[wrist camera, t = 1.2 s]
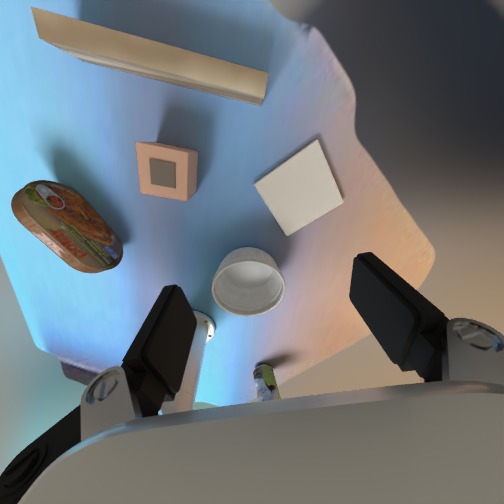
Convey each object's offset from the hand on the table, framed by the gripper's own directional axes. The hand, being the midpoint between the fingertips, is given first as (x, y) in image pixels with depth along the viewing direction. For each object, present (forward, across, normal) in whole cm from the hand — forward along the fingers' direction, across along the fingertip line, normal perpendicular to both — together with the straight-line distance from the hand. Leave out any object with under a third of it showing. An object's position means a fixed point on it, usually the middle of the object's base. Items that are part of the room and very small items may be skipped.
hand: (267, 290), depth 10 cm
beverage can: (+24, +6, +53) cm, 59 cm away
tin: (+24, +28, 0) cm, 37 cm away
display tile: (+24, -8, +2) cm, 25 cm away
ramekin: (+24, +4, +15) cm, 29 cm away
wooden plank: (+24, +7, -16) cm, 30 cm away
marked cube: (+24, +11, -6) cm, 27 cm away
